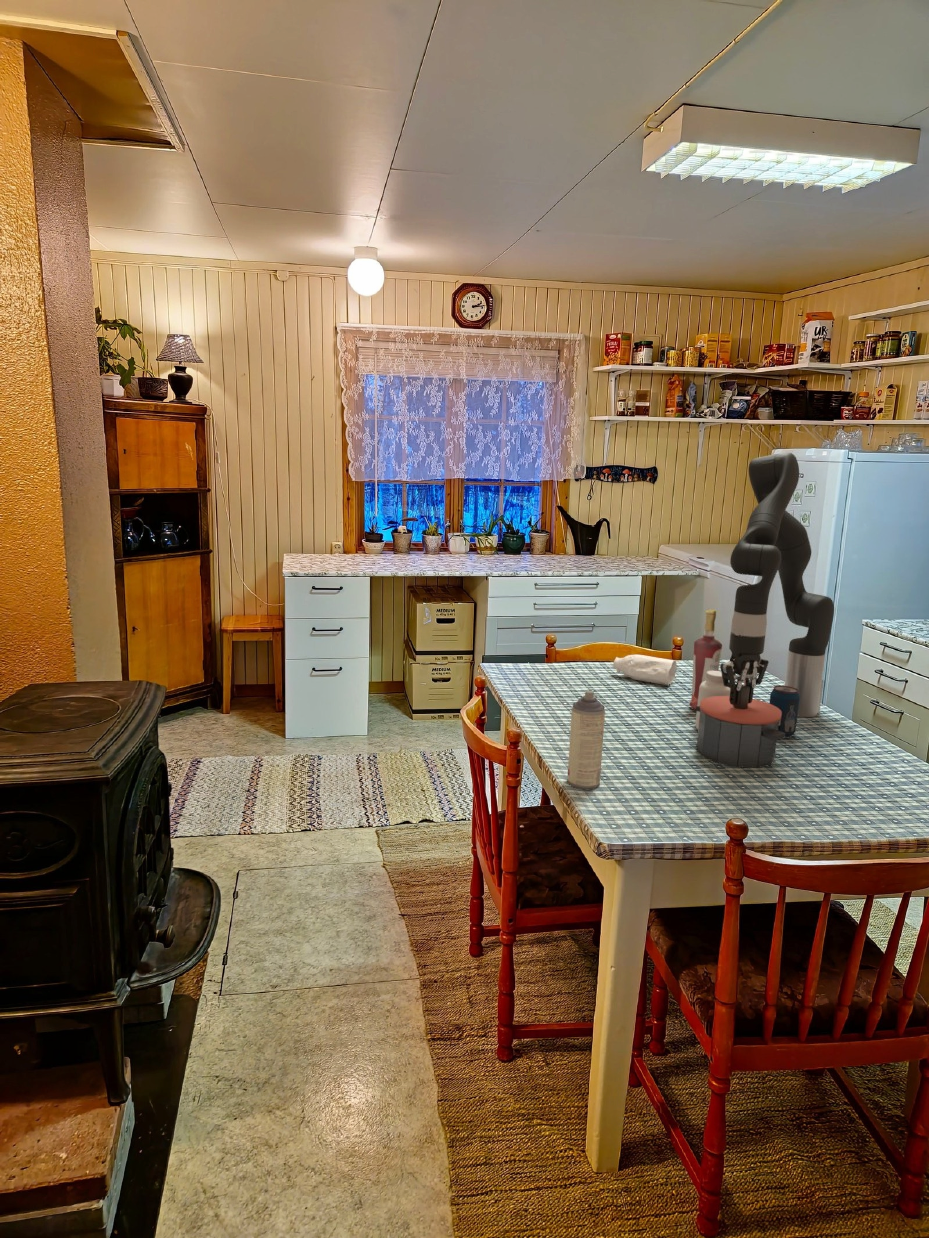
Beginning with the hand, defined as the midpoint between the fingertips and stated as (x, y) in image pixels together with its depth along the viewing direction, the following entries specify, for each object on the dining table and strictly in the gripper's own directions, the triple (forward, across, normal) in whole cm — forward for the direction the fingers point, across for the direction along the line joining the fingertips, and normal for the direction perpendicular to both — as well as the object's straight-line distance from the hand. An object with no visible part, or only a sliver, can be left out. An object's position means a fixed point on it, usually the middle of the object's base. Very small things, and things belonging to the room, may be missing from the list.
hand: (740, 703), depth 188 cm
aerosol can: (+12, +44, -2) cm, 46 cm away
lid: (+3, 0, 0) cm, 3 cm away
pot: (+12, 0, 0) cm, 12 cm away
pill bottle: (+13, -8, -15) cm, 21 cm away
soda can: (+13, -22, -5) cm, 26 cm away
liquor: (+13, -18, -28) cm, 36 cm away
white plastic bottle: (+13, -23, -57) cm, 62 cm away
